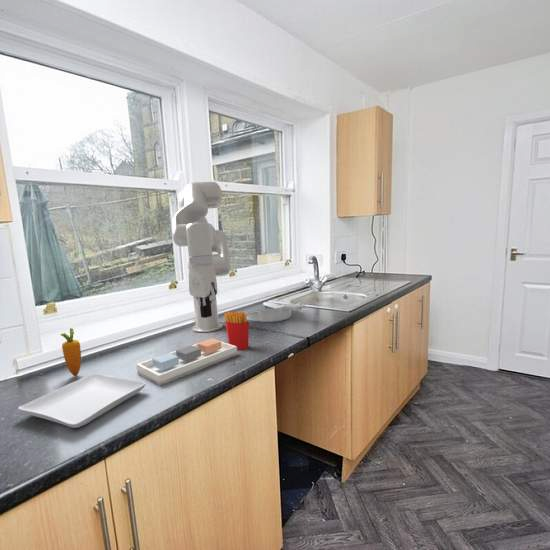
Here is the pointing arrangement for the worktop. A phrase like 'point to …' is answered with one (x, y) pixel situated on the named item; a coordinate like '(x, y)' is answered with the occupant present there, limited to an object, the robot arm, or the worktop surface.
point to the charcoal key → (188, 353)
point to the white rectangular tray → (185, 365)
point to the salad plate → (83, 399)
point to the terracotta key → (209, 346)
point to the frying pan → (274, 312)
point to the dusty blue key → (165, 361)
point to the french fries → (237, 329)
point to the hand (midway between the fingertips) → (206, 316)
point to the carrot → (72, 353)
